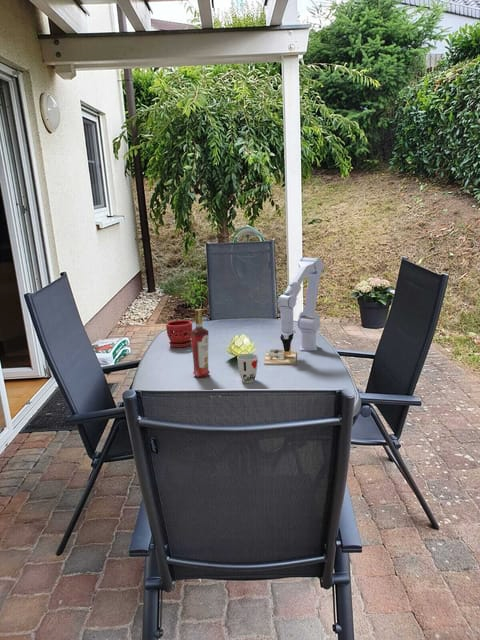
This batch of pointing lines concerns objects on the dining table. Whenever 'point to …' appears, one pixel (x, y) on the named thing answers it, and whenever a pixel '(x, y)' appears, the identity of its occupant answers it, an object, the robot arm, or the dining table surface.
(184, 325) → the plant pot
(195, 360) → the liquor
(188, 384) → the dining table surface
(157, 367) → the dining table surface
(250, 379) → the cup
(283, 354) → the square frame with cube
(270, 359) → the board
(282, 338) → the robot arm
